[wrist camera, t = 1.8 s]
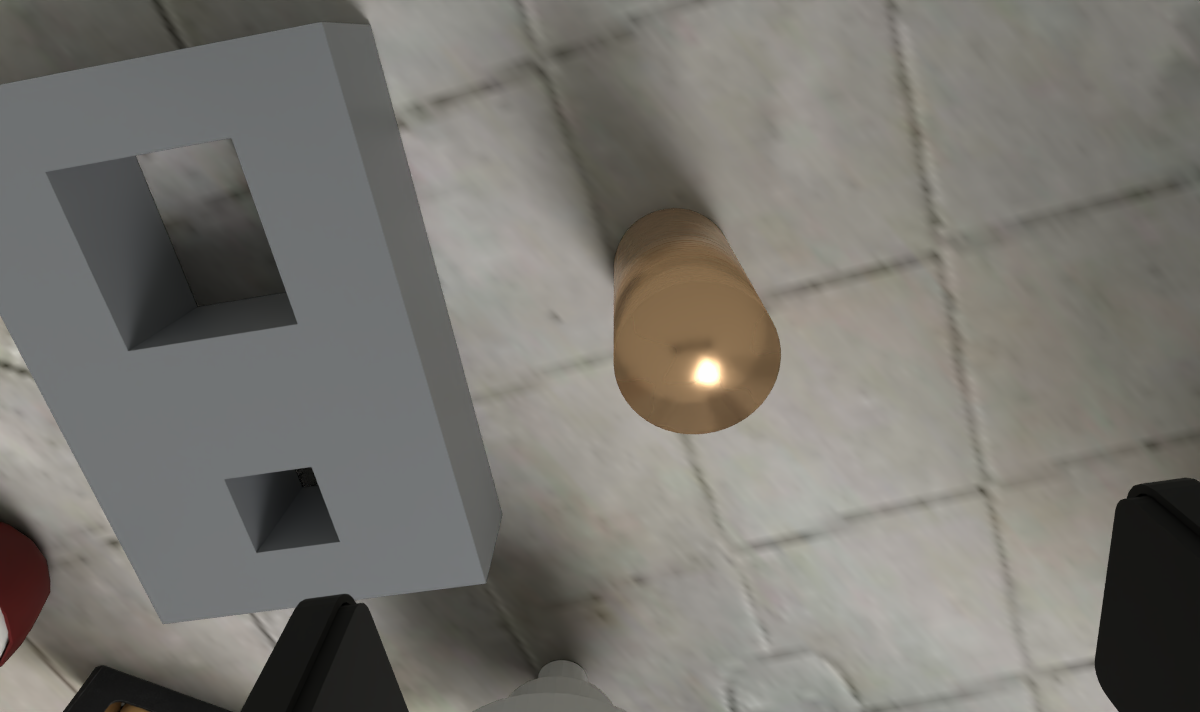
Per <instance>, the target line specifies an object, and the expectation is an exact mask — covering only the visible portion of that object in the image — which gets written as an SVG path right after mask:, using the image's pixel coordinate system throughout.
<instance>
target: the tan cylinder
mask: <svg viewBox="0 0 1200 712" xmlns="http://www.w3.org/2000/svg"><path fill="white" fill-rule="evenodd" d="M780 361H781V348H780V341H779V337H778V334H777V331H776V328H775V326H774V324H773V322H772V320H771V318H770V316H769V314H768V313H767V311H766V309H765V307H764V306H763V304H762V302H761V300H760V298H759V297H758V295H757V293H756V291H755V290H754V288H753V286H752V284H751V282H750V281H749V279H748V277H747V275H746V274H745V272H744V270H743V268H742V266H741V265H740V263H739V261H738V259H737V258H736V256H735V254H734V252H733V250H732V249H731V247H730V245H729V243H728V242H727V240H726V238H725V236H724V235H723V233H722V232H721V230H720V229H719V228H718V227H717V226H716V225H715V224H714V223H713V222H712V221H711V220H709V219H708V218H706V217H705V216H703V215H701V214H699V213H697V212H694V211H691V210H686V209H679V208H671V209H663V210H659V211H655V212H653V213H650V214H648V215H646V216H644V217H642V218H641V219H640V220H638V221H637V222H635V223H634V224H633V225H632V226H631V227H630V228H629V229H628V231H627V232H626V233H625V234H624V236H623V237H622V239H621V241H620V243H619V245H618V248H617V251H616V254H615V260H614V371H615V376H616V380H617V384H618V386H619V389H620V391H621V393H622V395H623V396H624V398H625V400H626V401H627V403H628V404H629V405H630V406H631V408H632V409H633V410H634V411H635V412H636V413H637V414H639V415H640V416H641V417H642V418H644V419H645V420H646V421H648V422H650V423H652V424H653V425H655V426H657V427H660V428H662V429H665V430H668V431H672V432H676V433H683V434H705V433H711V432H716V431H719V430H722V429H726V428H728V427H730V426H733V425H735V424H737V423H738V422H740V421H742V420H743V419H745V418H746V417H748V416H749V415H750V414H752V413H753V412H754V411H755V410H756V409H757V408H758V407H759V406H760V405H761V404H762V403H763V402H764V400H765V399H766V398H767V396H768V395H769V393H770V391H771V390H772V388H773V386H774V384H775V381H776V379H777V376H778V372H779V368H780Z"/></svg>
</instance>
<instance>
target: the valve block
mask: <svg viewBox="0 0 1200 712" xmlns="http://www.w3.org/2000/svg"><path fill="white" fill-rule="evenodd" d="M228 138H231V139H232V141H233V144H234V147H235V150H236V153H237V155H238V158H239V161H240V164H241V167H242V169H243V172H244V175H245V178H246V181H247V183H248V186H249V189H250V192H251V195H252V197H253V200H254V203H255V206H256V209H257V211H258V214H259V217H260V220H261V223H262V225H263V228H264V231H265V234H266V237H267V239H268V242H269V245H270V248H271V251H272V253H273V256H274V259H275V262H276V265H277V267H278V270H279V273H280V276H281V278H282V281H283V284H284V287H285V290H286V293H280V294H274V295H268V296H262V297H255V298H249V299H243V300H237V301H231V302H225V303H219V304H213V305H207V306H201V307H197V305H196V302H195V300H194V298H193V295H192V293H191V290H190V288H189V285H188V283H187V280H186V278H185V276H184V273H183V271H182V268H181V266H180V263H179V261H178V259H177V256H176V254H175V251H174V249H173V246H172V244H171V242H170V239H169V237H168V234H167V232H166V229H165V227H164V225H163V222H162V220H161V217H160V215H159V212H158V210H157V208H156V205H155V203H154V200H153V198H152V195H151V193H150V190H149V188H148V186H147V183H146V181H145V178H144V176H143V173H142V171H141V169H140V166H139V164H138V161H137V159H136V156H135V155H141V154H146V153H152V152H157V151H163V150H168V149H174V148H179V147H184V146H190V145H195V144H201V143H206V142H212V141H217V140H223V139H228ZM0 316H1V318H2V319H3V321H4V323H5V325H6V327H7V329H8V331H9V333H10V335H11V337H12V338H13V340H14V342H15V344H16V346H17V348H18V350H19V352H20V354H21V356H22V357H23V359H24V361H25V363H26V365H27V367H28V369H29V371H30V373H31V375H32V376H33V378H34V380H35V382H36V384H37V386H38V388H39V390H40V392H41V394H42V395H43V397H44V399H45V401H46V403H47V405H48V407H49V409H50V411H51V413H52V414H53V416H54V418H55V420H56V422H57V424H58V426H59V428H60V430H61V432H62V434H63V435H64V437H65V439H66V441H67V443H68V445H69V447H70V449H71V451H72V453H73V454H74V456H75V458H76V460H77V462H78V464H79V466H80V468H81V470H82V472H83V473H84V475H85V477H86V479H87V481H88V483H89V485H90V487H91V489H92V491H93V492H94V494H95V496H96V498H97V500H98V502H99V504H100V506H101V508H102V510H103V511H104V513H105V515H106V517H107V519H108V521H109V523H110V525H111V527H112V529H113V530H114V532H115V534H116V536H117V538H118V540H119V542H120V544H121V546H122V548H123V550H124V551H125V553H126V555H127V557H128V559H129V561H130V563H131V565H132V567H133V569H134V570H135V572H136V574H137V576H138V578H139V580H140V582H141V584H142V586H143V588H144V589H145V591H146V593H147V595H148V597H149V599H150V601H151V603H152V605H153V607H154V608H155V610H156V612H157V614H158V616H159V618H160V620H161V622H162V624H168V623H176V622H184V621H192V620H200V619H208V618H216V617H224V616H232V615H240V614H248V613H255V612H263V611H271V610H279V609H287V608H295V607H297V605H298V604H299V602H301V601H302V600H304V599H309V598H316V597H324V596H331V595H338V594H349V595H350V596H352V597H353V599H354V600H359V599H367V598H375V597H383V596H391V595H399V594H407V593H415V592H422V591H430V590H438V589H446V588H454V587H462V586H470V585H478V584H486V582H487V577H488V573H489V569H490V565H491V560H492V556H493V552H494V548H495V544H496V539H497V535H498V531H499V527H500V522H501V518H502V512H501V508H500V504H499V501H498V497H497V493H496V490H495V486H494V482H493V478H492V475H491V471H490V467H489V464H488V460H487V456H486V452H485V449H484V445H483V441H482V438H481V434H480V430H479V426H478V423H477V419H476V415H475V412H474V408H473V404H472V400H471V397H470V393H469V389H468V386H467V382H466V378H465V375H464V371H463V367H462V363H461V360H460V356H459V352H458V349H457V345H456V341H455V337H454V334H453V330H452V326H451V323H450V319H449V315H448V311H447V308H446V304H445V300H444V297H443V293H442V289H441V285H440V282H439V278H438V274H437V271H436V267H435V263H434V259H433V256H432V252H431V248H430V245H429V241H428V237H427V233H426V230H425V226H424V222H423V219H422V215H421V211H420V207H419V204H418V200H417V196H416V193H415V189H414V185H413V181H412V178H411V174H410V170H409V167H408V163H407V159H406V155H405V152H404V148H403V144H402V141H401V137H400V133H399V129H398V126H397V122H396V118H395V115H394V111H393V107H392V103H391V100H390V96H389V92H388V89H387V85H386V81H385V77H384V74H383V70H382V66H381V63H380V59H379V55H378V51H377V48H376V44H375V40H374V37H373V33H372V29H371V25H364V24H349V23H333V22H318V23H313V24H307V25H302V26H297V27H292V28H287V29H282V30H277V31H272V32H267V33H261V34H256V35H251V36H246V37H241V38H236V39H231V40H226V41H221V42H215V43H210V44H205V45H200V46H195V47H190V48H185V49H180V50H175V51H170V52H164V53H159V54H154V55H149V56H144V57H139V58H134V59H129V60H124V61H118V62H113V63H108V64H103V65H98V66H93V67H88V68H83V69H78V70H72V71H67V72H62V73H57V74H52V75H47V76H42V77H37V78H32V79H26V80H21V81H16V82H11V83H6V84H1V85H0ZM307 467H312V470H313V472H314V475H315V477H316V480H317V483H318V485H316V486H309V487H302V486H301V483H300V481H299V478H298V475H297V473H296V470H295V469H300V468H307Z"/></svg>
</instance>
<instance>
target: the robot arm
mask: <svg viewBox="0 0 1200 712" xmlns="http://www.w3.org/2000/svg"><path fill="white" fill-rule="evenodd" d="M1095 670H1096V675H1097V678H1098V680H1099V683H1100V685H1101V687H1102V689H1103V691H1104V692H1105V694H1106V695H1107V697H1108V698H1109V699H1110V701H1111V702H1112V703H1113V705H1114V706H1115V707H1116V709H1117V710H1118V711H1119V712H1200V482H1199V481H1197V480H1195V479H1191V478H1181V479H1173V480H1166V481H1159V482H1152V483H1144V484H1139V485H1136V486H1133V487H1132V488H1131V490H1130V491H1129V493H1128V496H1127V499H1123V500H1120V501H1119V503H1118V504H1117V506H1116V510H1115V517H1114V524H1113V532H1112V539H1111V546H1110V553H1109V561H1108V568H1107V575H1106V583H1105V590H1104V597H1103V604H1102V612H1101V619H1100V626H1099V634H1098V641H1097V648H1096V655H1095ZM241 712H409V711H408V709H407V706H406V703H405V701H404V698H403V696H402V693H401V691H400V688H399V685H398V683H397V680H396V678H395V675H394V672H393V670H392V667H391V665H390V662H389V660H388V657H387V654H386V652H385V649H384V647H383V644H382V641H381V639H380V636H379V634H378V631H377V629H376V626H375V623H374V621H373V618H372V616H371V613H370V611H369V609H368V607H367V606H366V605H365V604H364V603H358V604H356V602H355V601H354V599H353V597H352V596H350V595H349V594H338V595H331V596H324V597H316V598H309V599H304V600H302V601H301V602H299V604H298V605H297V607H296V608H295V610H294V612H293V614H292V615H291V617H290V619H289V621H288V623H287V625H286V627H285V629H284V631H283V632H282V634H281V636H280V638H279V640H278V642H277V644H276V646H275V647H274V649H273V651H272V653H271V655H270V657H269V659H268V661H267V663H266V664H265V666H264V668H263V670H262V672H261V674H260V676H259V678H258V680H257V681H256V683H255V685H254V687H253V689H252V691H251V693H250V695H249V697H248V698H247V700H246V702H245V704H244V706H243V708H242V710H241Z"/></svg>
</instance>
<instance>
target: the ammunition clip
mask: <svg viewBox="0 0 1200 712" xmlns="http://www.w3.org/2000/svg"><path fill="white" fill-rule="evenodd" d="M63 712H231V711H229V710H226V709H223V708H220V707H218V706H215V705H212V704H209V703H206V702H204V701H201V700H198V699H195V698H193V697H190V696H187V695H184V694H182V693H179V692H176V691H173V690H170V689H168V688H165V687H162V686H159V685H157V684H154V683H151V682H148V681H145V680H143V679H140V678H137V677H134V676H132V675H129V674H126V673H123V672H121V671H118V670H115V669H112V668H109V667H107V666H104V665H103V666H100V667H96V668H95V669H94V671H93V672H92V673H91V675H90V676H89V678H88V679H87V680H86V682H85V683H84V684H83V686H82V687H81V688H80V690H79V691H78V692H77V694H76V695H75V696H74V698H73V699H72V700H71V702H70V703H69V704H68V706H67V707H66V708H65V710H64V711H63Z"/></svg>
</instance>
